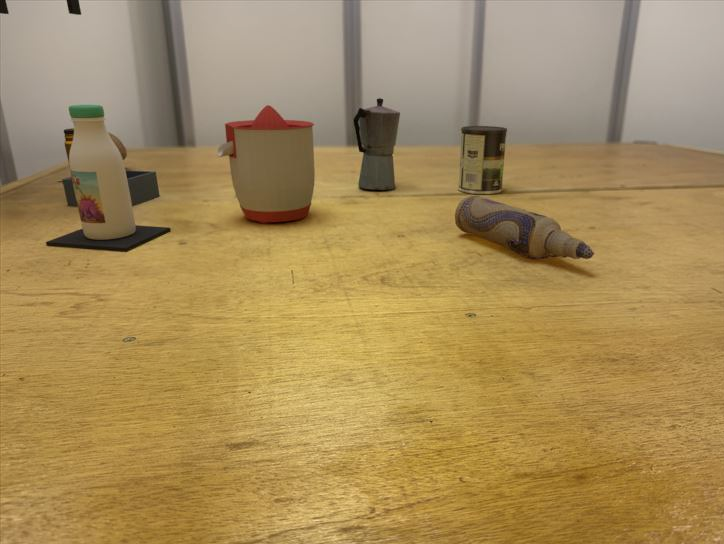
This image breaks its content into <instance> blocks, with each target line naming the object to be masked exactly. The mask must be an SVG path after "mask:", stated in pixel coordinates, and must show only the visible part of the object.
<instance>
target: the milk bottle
mask: <svg viewBox="0 0 724 544" xmlns="http://www.w3.org/2000/svg"><path fill="white" fill-rule="evenodd" d="M68 113H69V116H70V122H72V123H73V128H74V136H73V141H72V145H71V149H70V154H69V162H68V166H69V165H70V167H69V170H70V177H72V182H73V187H74V192H75V196H76V201H77V206H76V207H77V210H78V214H79V215H78V216H79V219H80V223H81V229H83V232H84V235H85V236H86V237H87V238H89V239H96V240H107V239H116V238H122V237H126V236H129V235H131V234H133V233H134V232H135V230H136V226H135V225H136V219H135V214H134V209H133V206H132V203H131V197H130V191H129V186H128V181H127V176H126V171H125V170H126V167H125V162H124V160H123V159H122V156H121V154H120V152H119V150H118V148H117V147H116V145H115V144H114V142H113V141H112V139H111V138H110V136H109V134H108V133H109V132H108V130H107V128H106V125H105V121H106V118H105V111H104V106H103V105H100V104H74V105H69V106H68Z"/></svg>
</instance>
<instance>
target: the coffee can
mask: <svg viewBox="0 0 724 544" xmlns="http://www.w3.org/2000/svg"><path fill="white" fill-rule="evenodd" d="M460 131H461V136H460V138H461V139H460V156H459V158H460V159H459V179H458V188H457V189H458V191H459V192H462V193H465V194H472V195H494V194H501V193H502V192H503V180H504V179H503V177H504V165H505V154H506V153H505V151H506V141H507V133H508V128H507V127H503V126H495V125H494V126H491V125H468V126H466V125H465V126H462V127H460Z"/></svg>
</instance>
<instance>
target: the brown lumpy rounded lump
mask: <svg viewBox="0 0 724 544" xmlns="http://www.w3.org/2000/svg"><path fill="white" fill-rule="evenodd" d="M108 134H109V136H110V138H111V139H112V141H113V142H114V144H115V145H116V147H117V148H118V150H119V152H120V154H121V156H122V159H123V161H125V160H126V158H127V156H128V151H127V149H126V147H125V145H124V144H123V142H122V141H121V139H120V138H118V137H117V136H116V135H114V134H113V133H111V132H108Z"/></svg>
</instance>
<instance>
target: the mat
mask: <svg viewBox="0 0 724 544" xmlns="http://www.w3.org/2000/svg"><path fill="white" fill-rule="evenodd" d="M135 226H136V230H135V232H134V233H133V234H131V235H129V236H126V237H122V238H116V239H107V240H96V239H89V238H87V237H86V236H85V235H84V232H83V228H80V229H77V230H75V231H72V232H69V233H67V234H64V235H61V236H58V237H56V238H53V239H50V240H47V241H45V244H46V246H47V247H62V248H76V249H87V250H99V251H102V250H103V251H112V252H125V253H126V252H128V251H131V250H133V249H135V248H137V247H139V246H141V245H144V244H145V243H146V244H147V243H148V242H151V241H152V240H154V239H156V238H159V237H160V236H163V235H165V234H168V233H170V232H171V231H172V230H171V227H168V226H167V227H166V226H155V225H154V226H152V225H151V226H150V225H139V224H137V225H136V224H135Z"/></svg>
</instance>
